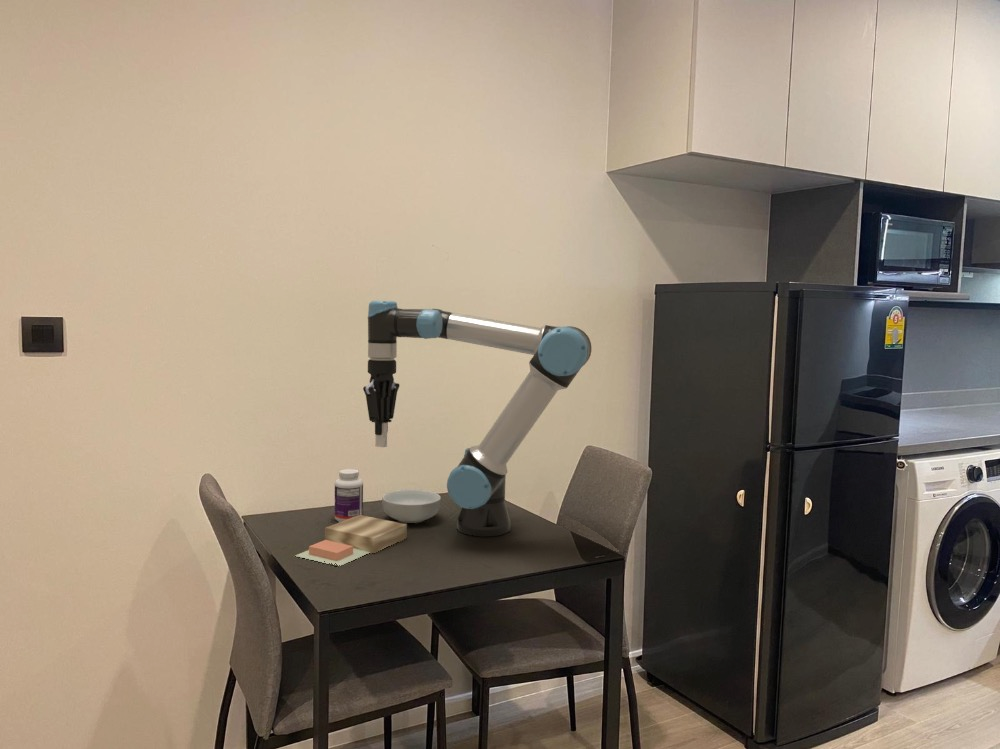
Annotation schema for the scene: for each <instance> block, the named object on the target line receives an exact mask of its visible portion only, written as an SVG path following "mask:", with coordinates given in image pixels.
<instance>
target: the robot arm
mask: <svg viewBox="0 0 1000 749" xmlns="http://www.w3.org/2000/svg"><path fill="white" fill-rule="evenodd" d="M367 313H368V314H367V339H368V340H367V342H368V344H367V357H368V358H369V359H368V360H367V373H368V374H369V375H370V378H369V384H368V385H366V386H363V392H364V395H365V399H366V406H367V413H368V420H369V421H370V422H371V423H374V434H375V447H379V448H386V447H388V431H389V430H388V428H389V426H388V425H389V423H391V422H392V420H393V418H394V416H395V415H394V414H395V408H396V402H397V396H398V391H399V388H400V383H397V382H395V379H394V375H395V374H396V373H397V361H396V358H397V357H398V356H397V352H398V351H397V350H398V349H397V346H398V344H397V343H398V341H397V338H411V339H412V338H413V339H414V338H415V339H425V340H427V339H437V338H439V339H445V340H451V341H456V342H460V343H461V342H462V343H467V344H472V345H476V346H483V347H489V348H494V349H499V350H504V351H510V352H515V353H521V354H526V355H529V356H530V355H532V357H531V358H530V360H529V362H528V365H529V373H527V375H526V377H524V379H523V381H522V383H521V384H520V385H519V386H518V388H517V390H515V392H514V394H513V395H512V396H511V399H510V400H509V401H508V403H507V404H506V406H505V407H504V408H503V410H502V411H501V413H500V414H499V416H498V417H497V419H496V420H495V422H494V423H493V424H492V426H491V428H490V429H489V430H488V432H487V433H486V434H485V436H484V437H483V439H482V441H481V442H480V443H479V444H478V445H473V446H470V447H468V448H466V449H465V451H464V454H463V457H462V459H461V461H460V462H459V464H458V465H457V466H456V467H455V468H454V469H452V470H451V471H450V473H449V476H448V477H447V482H446V489H447V493H448V495H449V497H450V499H451V501H452V502H453V503H454V504H456V505H457V506H459V507H461V508H460V511H459V514H458V517H457V519H456V520H457V521H456V530H457V529H458V530H457V531H459V532H460V533H462V534H465V535H467V534H468V535H467V536H472V535H473V536H474V537H497V536H502V535H505V534H507V533H509V532H510V530H511V519H510V516H509V513H508V509H507V505H506V478H507V477H506V475H507V473H508V467H507V464H508V462H509V461H510V459H511V458H512V456H513V455H514V454H515V452H516V451H517V449H518V448H519V447H520V445H521V444H522V442H523V441H524V440H525V438H526V436H527V435H528V434H529V432H530V431H531V430H532V428H533V427H534V425H535V423H537V421H538V420H539V418H540V417H541V416H542V414H543V413H544V411H545V410H546V408H547V407H548V405H549V403H550V402H552V399H553V398H554V397H555V396H556V394H557V393H558V391H561V390H566V389H567V388H568V387H569V386H570V384H571V383H572V382H573V380H574V379H575V378H576V376H577V375H578V373H579V372H580V371H581V369H582V368H583V367H584V366H585V365H586V364H587V363H588V361H589V359H591V358H590V357H591V355H592V342H591V340H590V338H589V335H587V333H586V332H585V331H583V329H580V328H579V327H575V326H572V325H571V326H554V325H547V324H544V325H543V326H542V327H536V326H533V325H532V326H531V325H525V324H519V323H515V322H509V321H502V320H497V319H491V318H486V317H481V316H474V315H468V314H462V313H458V312H450V311H447V310H442V309H439V308H432V309H431V308H428V309H427V308H425V309H424V308H422V309H419V308H415V309H414V308H408V309H407V308H400V307H399V308H398V303H397V302H396V301H393V300H372V301H370V302H369V303H368V312H367Z"/></svg>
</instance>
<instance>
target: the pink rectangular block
mask: <svg viewBox="0 0 1000 749" xmlns="http://www.w3.org/2000/svg"><path fill="white" fill-rule="evenodd" d="M308 550H309V554H310V555H314V556H318V557H322V558H327V559H331V560H335V561H338V560H341V559H343V558H345V557H347V556H350V555H352V554H353V546H350V545H346V544H342V543H337V542H333V541H329V540H325V539H324V540H322V541H319V542H316V543H314V544H312V545H309V546H308Z"/></svg>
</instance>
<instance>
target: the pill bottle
mask: <svg viewBox="0 0 1000 749" xmlns="http://www.w3.org/2000/svg"><path fill="white" fill-rule="evenodd" d="M338 474H339V478H337V479H336V480H335V482H334V519H335V521H337V523H339V522H342V521H345V520H347V519H350V518H353V517H355V516H358V515H363V516H364V481H363V479H362V478H359V476H360V472H359V470H357V469H354V468H346V469H341V470H339V472H338Z"/></svg>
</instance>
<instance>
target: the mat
mask: <svg viewBox="0 0 1000 749" xmlns="http://www.w3.org/2000/svg"><path fill="white" fill-rule="evenodd" d="M369 553H370V554H372V553H371V552H368V551H364V550H360V549H355V548H353V554H352V555H350V556H347V557H345V558H343V559H341V560H338V561H335V560H331V559H327V558H322V557H318V556H314V555H310V554H309V549H307V550H305V551H303V552H300V553H298V554H296V555H294V557H295V556H296V557H295V558H297V557H300V558H299V559H302V558H305V559H304V560H306V559H309V560H308V561H310V560H314V561H318V562H322V563H326V564H329V563H330V564H331V563H332V564H333V565H334V564H335V563H336V564H337V565H338V566H339V565H340V566H341V565H344V564H346V563H348V562H350V563H352V562H351V561H353V560H355V559H357V560H359V559H361V558H363V557H362V556H364V555H366V554H368V555H370V554H369ZM366 556H367V555H366ZM360 557H361V558H360ZM364 557H365V556H364ZM358 558H359V559H358ZM314 561H313V562H314ZM324 561H325V562H324ZM355 561H356V560H355ZM318 562H317V563H318ZM353 562H354V561H353ZM322 563H321V564H322ZM326 564H325V565H326ZM336 564H335V565H336ZM348 564H349V563H348ZM346 565H347V564H346ZM344 566H345V565H344Z"/></svg>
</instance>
